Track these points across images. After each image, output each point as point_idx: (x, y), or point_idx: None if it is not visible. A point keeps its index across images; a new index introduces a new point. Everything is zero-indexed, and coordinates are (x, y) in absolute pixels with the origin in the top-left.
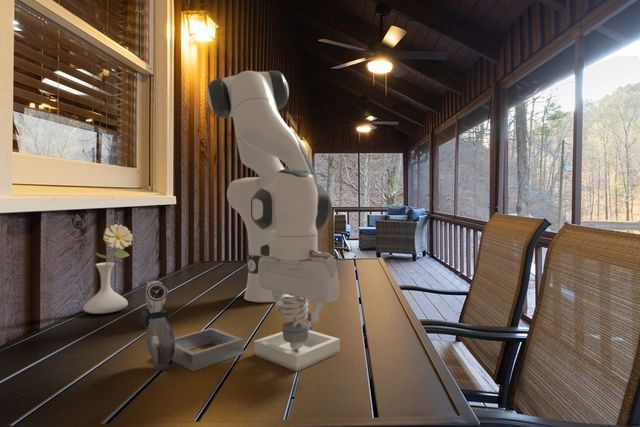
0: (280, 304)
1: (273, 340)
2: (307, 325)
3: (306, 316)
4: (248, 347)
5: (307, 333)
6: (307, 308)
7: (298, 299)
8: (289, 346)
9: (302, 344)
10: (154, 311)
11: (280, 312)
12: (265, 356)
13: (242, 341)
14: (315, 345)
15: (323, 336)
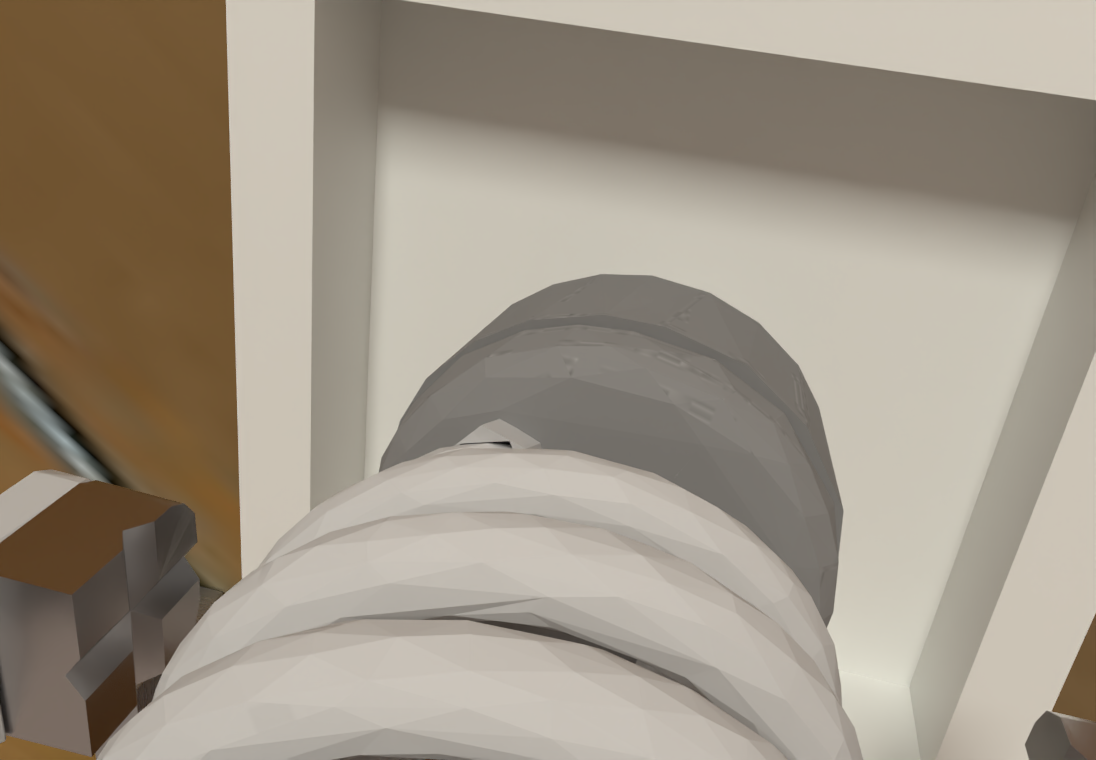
0: (6, 683)
1: (328, 452)
2: (820, 514)
3: (835, 685)
4: (121, 451)
5: (832, 468)
6: (805, 725)
7: (339, 744)
8: (494, 298)
9: (592, 145)
10: None
11: (174, 643)
12: None
13: (150, 685)
14: (786, 75)
15: (963, 72)
